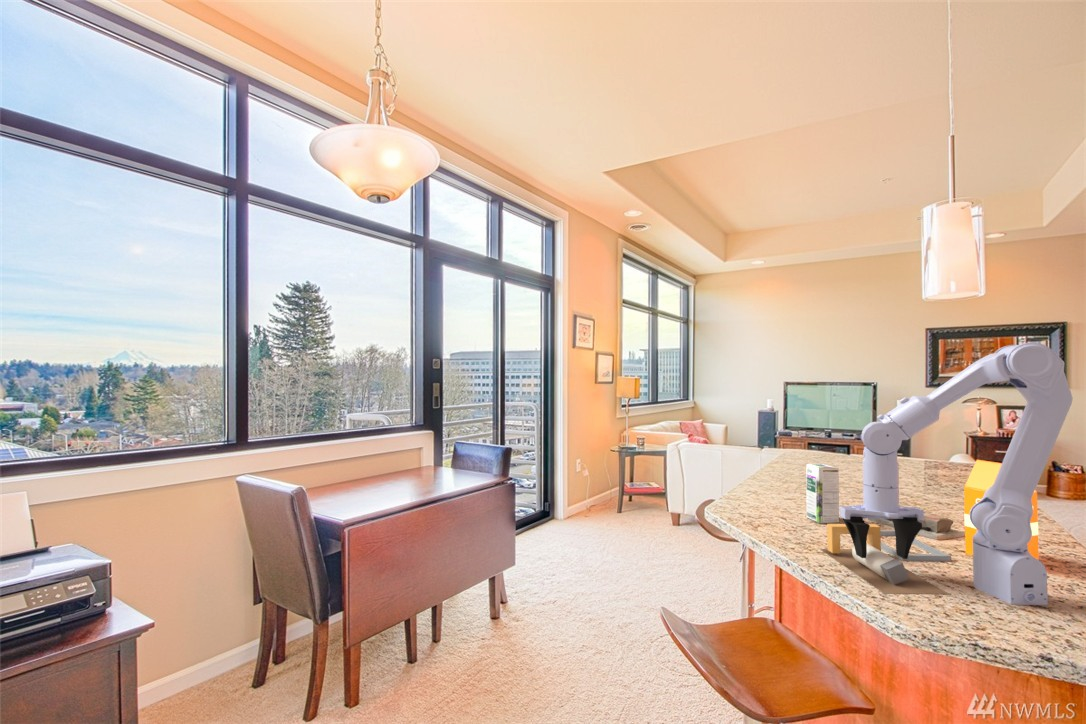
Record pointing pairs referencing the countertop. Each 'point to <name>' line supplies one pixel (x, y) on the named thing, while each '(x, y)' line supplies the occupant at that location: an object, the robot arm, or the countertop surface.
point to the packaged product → (930, 527)
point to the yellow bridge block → (838, 529)
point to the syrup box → (822, 493)
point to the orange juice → (974, 492)
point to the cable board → (906, 587)
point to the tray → (935, 555)
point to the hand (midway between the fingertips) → (881, 556)
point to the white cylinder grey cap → (883, 565)
